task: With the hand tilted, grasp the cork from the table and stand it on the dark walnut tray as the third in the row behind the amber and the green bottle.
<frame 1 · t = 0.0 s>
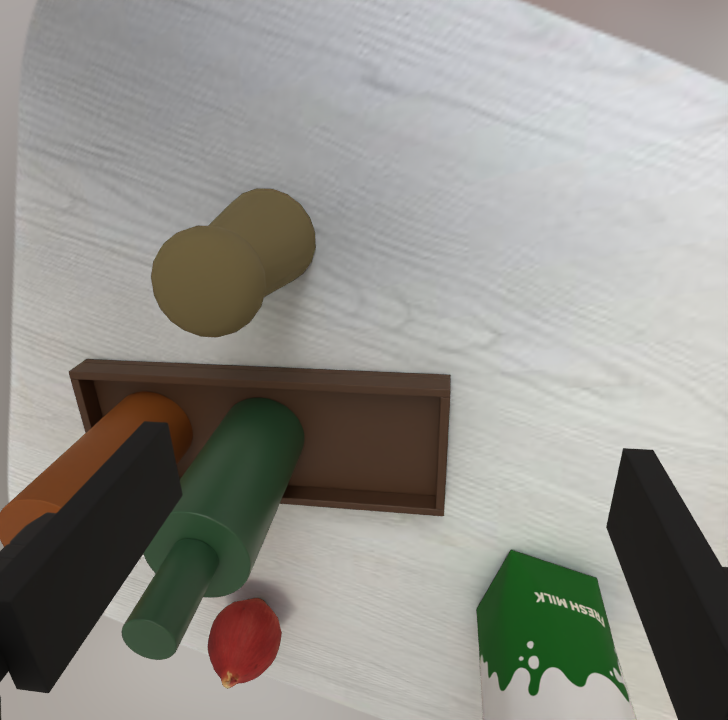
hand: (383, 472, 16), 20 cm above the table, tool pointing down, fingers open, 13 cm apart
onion: (259, 599, 48), on the table
green bottle: (264, 433, 39), point 1 cm above the table, touching tray
amber bottle: (154, 426, 41), point 1 cm above the table, touching tray
milk carton: (533, 592, 43), on the table
cork: (269, 237, 34), on the table
tray: (266, 428, 40), on the table
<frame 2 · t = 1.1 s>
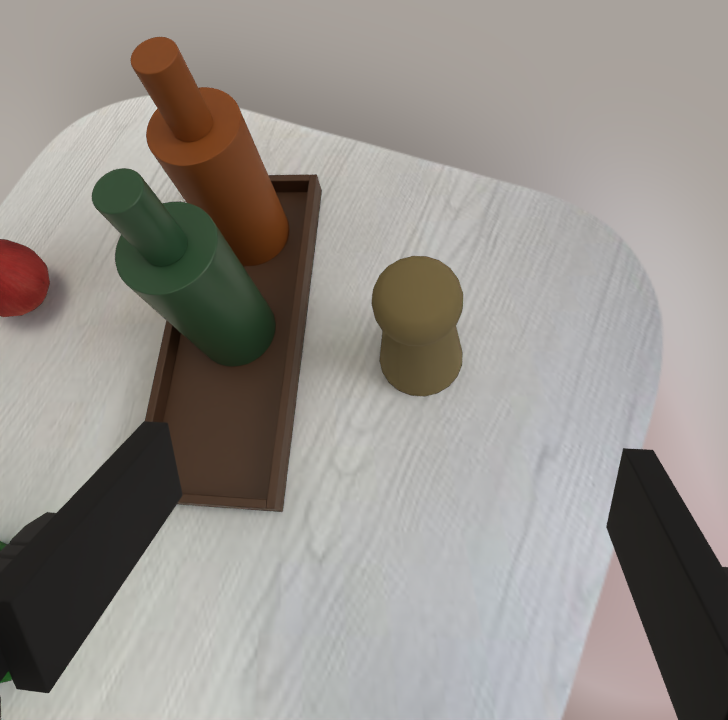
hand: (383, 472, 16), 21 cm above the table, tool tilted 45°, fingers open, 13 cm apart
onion: (40, 300, 46), on the table
green bottle: (237, 329, 42), point 1 cm above the table, touching tray
amber bottle: (253, 233, 44), point 1 cm above the table, touching tray
cork: (420, 357, 40), on the table
tray: (240, 332, 42), on the table
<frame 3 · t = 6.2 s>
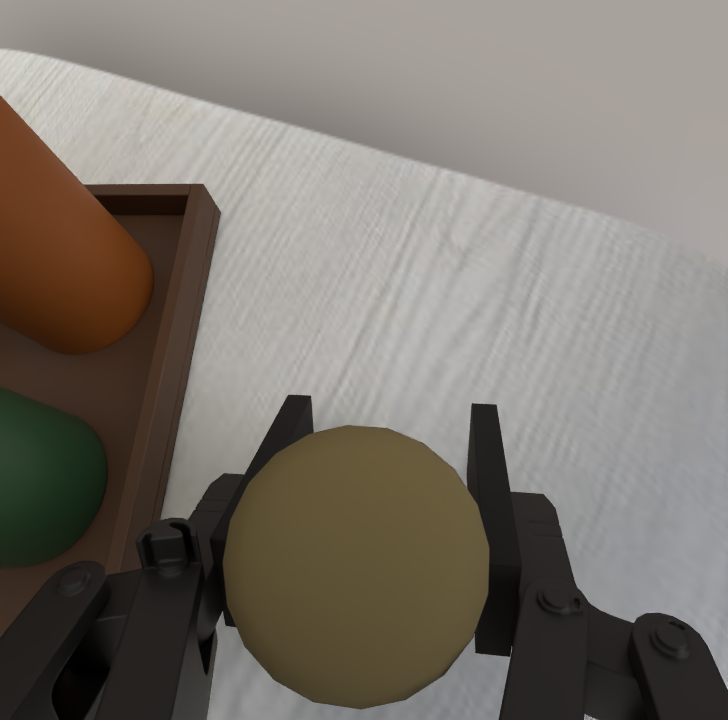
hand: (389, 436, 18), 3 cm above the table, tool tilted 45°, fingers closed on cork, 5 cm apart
green bottle: (35, 485, 21), point 1 cm above the table, touching tray
amber bottle: (89, 291, 24), point 1 cm above the table, touching tray
cork: (389, 557, 20), on the table, touching gripper
tray: (45, 487, 22), on the table
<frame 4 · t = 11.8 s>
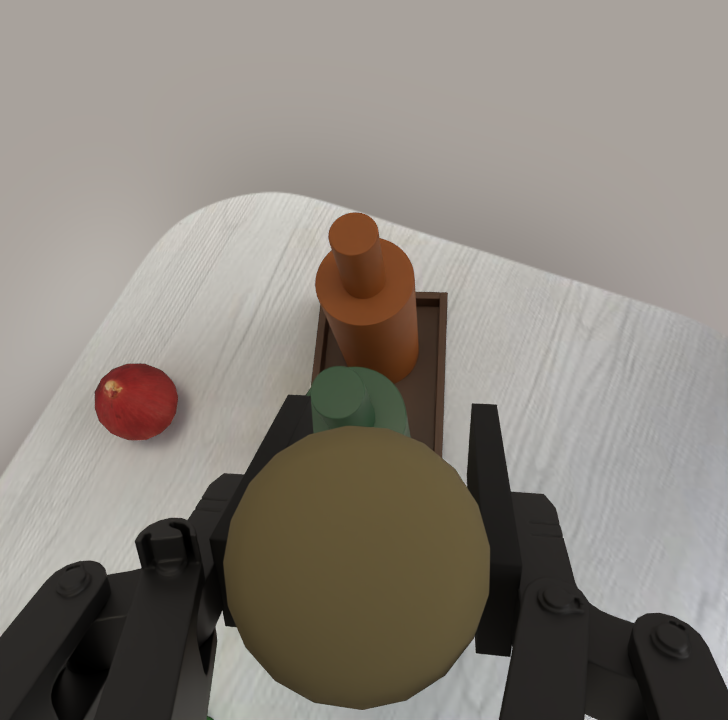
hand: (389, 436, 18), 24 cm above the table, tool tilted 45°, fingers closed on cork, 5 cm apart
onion: (161, 414, 45), on the table
green bottle: (373, 455, 41), point 1 cm above the table, touching tray
amber bottle: (381, 350, 44), point 1 cm above the table, touching tray
cork: (389, 557, 20), point 21 cm above the table, touching gripper
tray: (374, 457, 42), on the table
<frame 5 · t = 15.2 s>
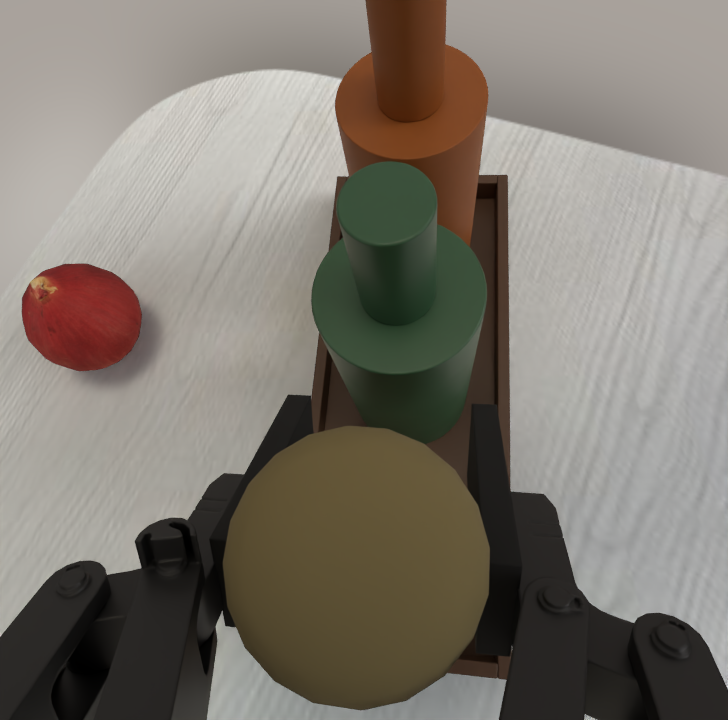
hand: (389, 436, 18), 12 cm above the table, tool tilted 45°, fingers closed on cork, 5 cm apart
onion: (122, 343, 34), on the table
green bottle: (410, 391, 30), point 1 cm above the table, touching tray
amber bottle: (417, 255, 33), point 1 cm above the table, touching tray
cork: (389, 557, 20), point 8 cm above the table, touching gripper
tray: (410, 394, 30), on the table
when the fingers open (4 cm above the table, at t = 17.6 s): cork stays where it is, resting on tray.
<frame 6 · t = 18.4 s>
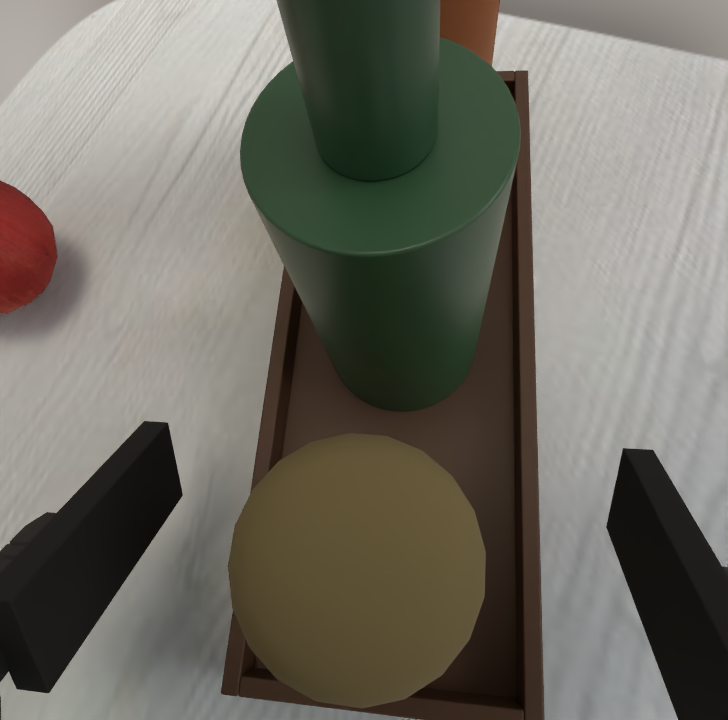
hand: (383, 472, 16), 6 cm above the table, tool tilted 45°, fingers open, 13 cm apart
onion: (39, 288, 27), on the table
green bottle: (402, 342, 23), point 1 cm above the table, touching tray
amber bottle: (412, 174, 26), point 1 cm above the table, touching tray
cork: (389, 559, 20), resting on tray
tray: (403, 347, 23), on the table
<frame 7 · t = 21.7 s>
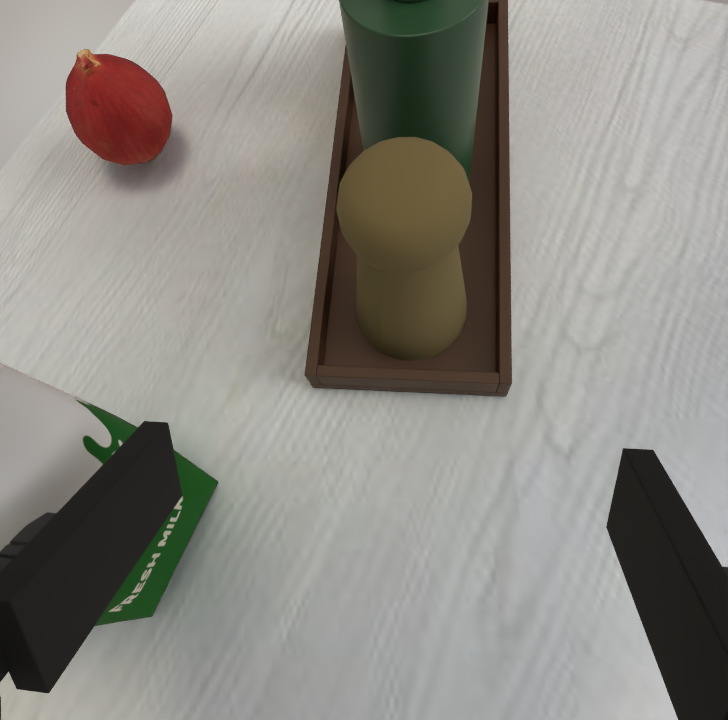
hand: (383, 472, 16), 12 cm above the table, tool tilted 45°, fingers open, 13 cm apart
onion: (151, 157, 37), on the table
green bottle: (418, 179, 33), point 1 cm above the table, touching tray
milk carton: (130, 517, 28), on the table
cork: (411, 310, 30), resting on tray
tray: (418, 185, 33), on the table
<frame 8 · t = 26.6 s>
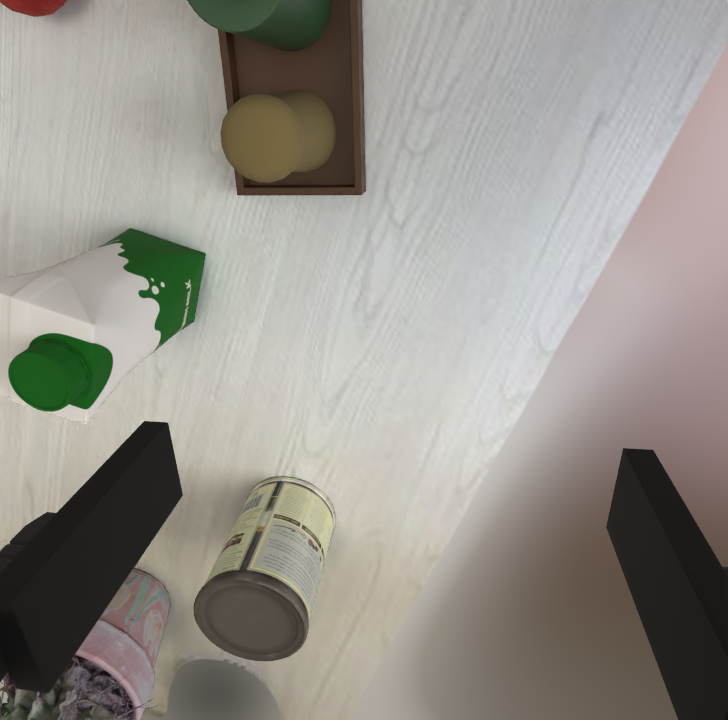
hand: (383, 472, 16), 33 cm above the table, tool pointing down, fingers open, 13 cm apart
green bottle: (290, 3, 39), point 1 cm above the table, touching tray
milk carton: (163, 275, 50), on the table
coffee can: (291, 512, 60), on the table
cork: (299, 132, 43), resting on tray
potted plant: (141, 592, 70), on the table
tray: (292, 4, 40), on the table
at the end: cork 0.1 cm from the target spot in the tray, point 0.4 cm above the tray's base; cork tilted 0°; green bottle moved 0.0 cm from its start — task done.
